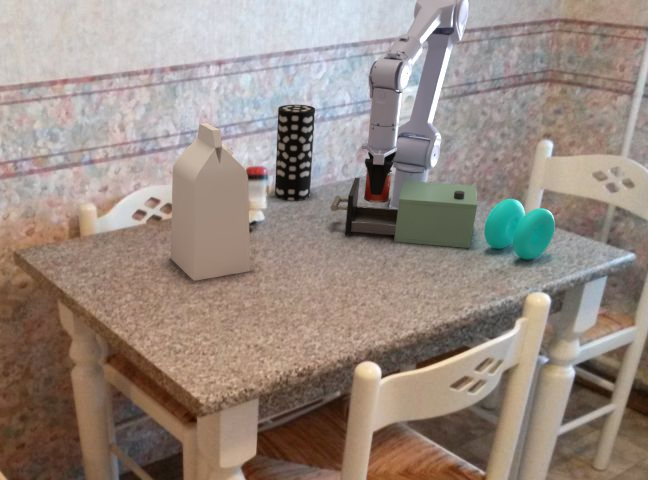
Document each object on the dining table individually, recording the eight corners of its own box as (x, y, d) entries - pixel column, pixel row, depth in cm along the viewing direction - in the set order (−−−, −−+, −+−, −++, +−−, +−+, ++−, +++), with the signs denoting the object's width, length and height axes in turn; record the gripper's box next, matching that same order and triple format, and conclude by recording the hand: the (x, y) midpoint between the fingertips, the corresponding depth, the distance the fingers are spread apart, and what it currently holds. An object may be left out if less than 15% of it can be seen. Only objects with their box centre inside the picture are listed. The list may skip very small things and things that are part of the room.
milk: (170, 258, 159) (166, 122, 146) (224, 249, 163) (225, 116, 150) (193, 280, 150) (192, 137, 137) (250, 271, 154) (253, 130, 140)
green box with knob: (397, 221, 178) (403, 174, 173) (469, 227, 174) (477, 180, 169) (394, 241, 167) (399, 193, 162) (469, 248, 164) (478, 198, 158)
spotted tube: (273, 199, 191) (276, 111, 181) (276, 189, 198) (279, 104, 188) (308, 201, 190) (314, 113, 180) (310, 190, 197) (316, 105, 187)
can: (365, 194, 173) (367, 166, 170) (389, 196, 172) (392, 167, 168) (362, 201, 168) (365, 173, 165) (387, 203, 167) (391, 174, 164)
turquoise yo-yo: (510, 240, 167) (519, 193, 162) (551, 255, 160) (562, 206, 155) (477, 250, 163) (485, 201, 157) (518, 266, 155) (528, 215, 150)
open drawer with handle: (334, 213, 181) (337, 176, 176) (420, 220, 176) (425, 182, 172) (327, 233, 170) (330, 194, 165) (417, 241, 166) (423, 201, 161)
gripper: (367, 114, 169) (361, 178, 176) (360, 130, 157) (354, 199, 164) (401, 116, 167) (394, 181, 174) (397, 132, 155) (389, 202, 162)
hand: (377, 190), depth 169 cm, fingers closed on can, 5 cm apart
